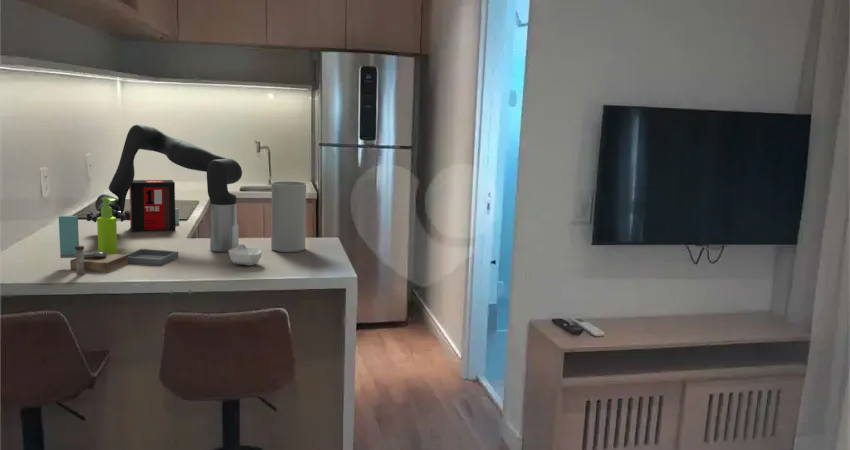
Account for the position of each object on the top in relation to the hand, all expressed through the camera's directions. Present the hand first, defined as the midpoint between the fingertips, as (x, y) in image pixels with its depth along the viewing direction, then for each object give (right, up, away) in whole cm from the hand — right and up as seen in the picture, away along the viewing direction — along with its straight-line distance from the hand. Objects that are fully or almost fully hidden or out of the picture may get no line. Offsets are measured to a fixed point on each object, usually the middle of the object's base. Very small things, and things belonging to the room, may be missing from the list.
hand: (108, 219), depth 238 cm
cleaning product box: (-1, -4, +42) cm, 42 cm away
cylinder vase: (+60, -11, +16) cm, 63 cm away
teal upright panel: (+4, -12, -24) cm, 27 cm away
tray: (+19, -14, -11) cm, 26 cm away
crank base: (+7, -16, -25) cm, 31 cm away
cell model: (+51, -16, -11) cm, 55 cm away
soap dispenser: (+3, -13, -7) cm, 15 cm away
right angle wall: (-3, -2, +59) cm, 59 cm away
